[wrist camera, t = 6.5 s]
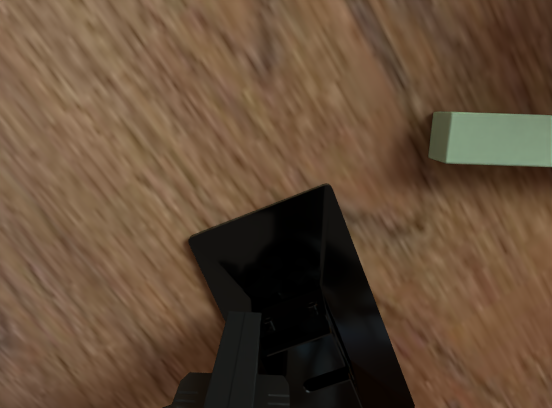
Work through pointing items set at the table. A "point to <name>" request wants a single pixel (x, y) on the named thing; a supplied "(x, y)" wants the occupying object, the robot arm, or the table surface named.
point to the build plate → (305, 301)
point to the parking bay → (491, 139)
